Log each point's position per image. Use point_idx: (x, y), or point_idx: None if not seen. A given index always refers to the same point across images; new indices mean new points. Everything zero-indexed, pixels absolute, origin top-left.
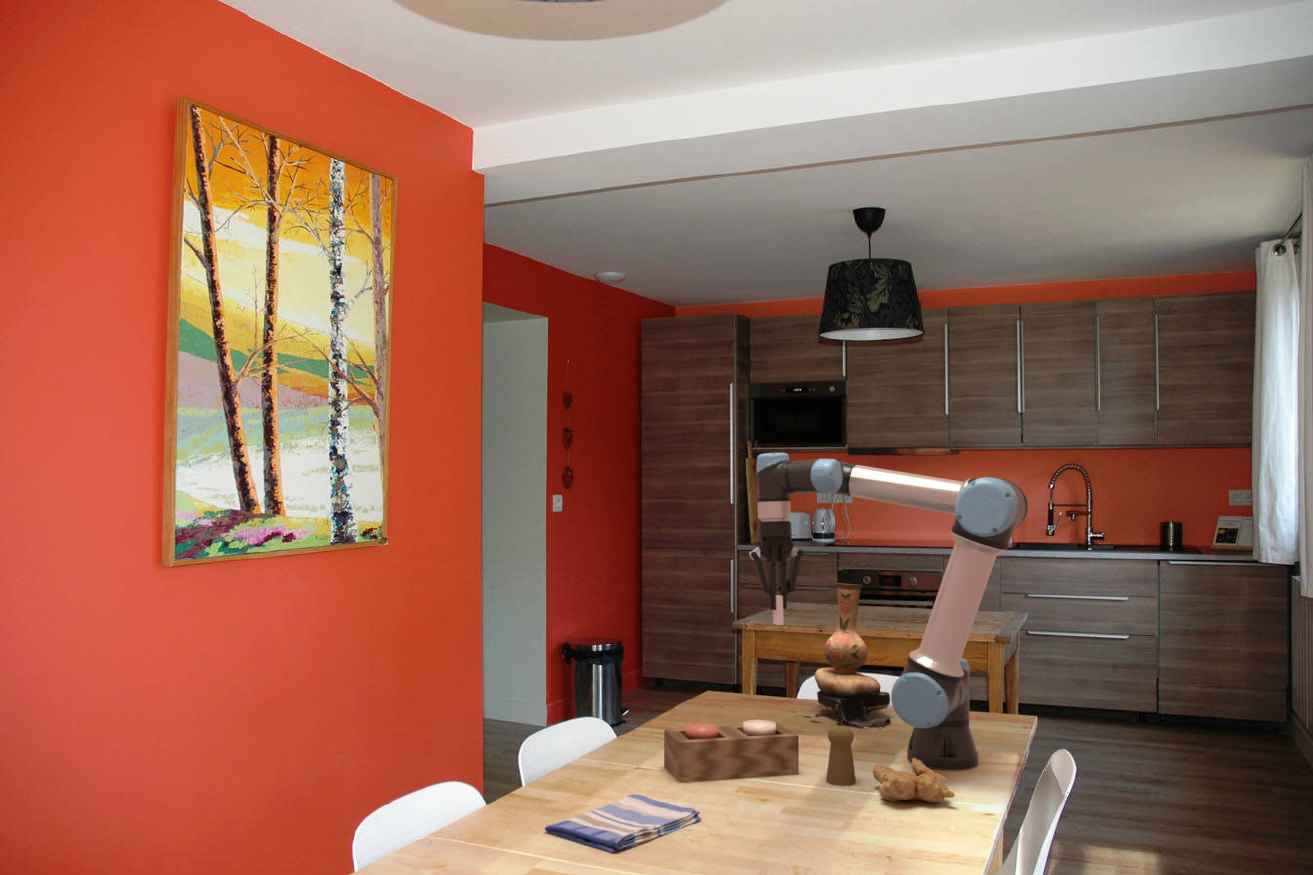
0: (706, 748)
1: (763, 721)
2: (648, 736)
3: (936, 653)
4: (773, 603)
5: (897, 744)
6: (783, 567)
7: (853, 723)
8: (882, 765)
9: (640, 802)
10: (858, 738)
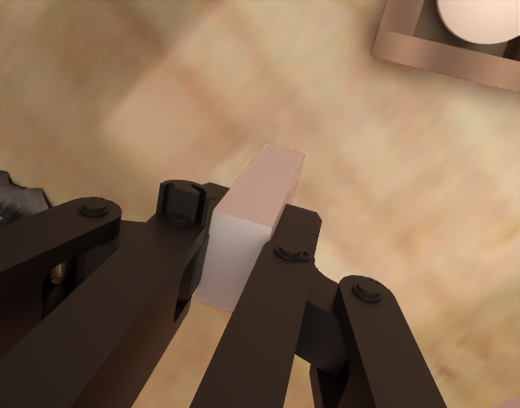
0: None
1: (464, 5)
2: (497, 368)
3: None
4: (296, 228)
5: (43, 38)
6: (13, 406)
7: (47, 207)
8: None
9: None
10: (92, 123)
